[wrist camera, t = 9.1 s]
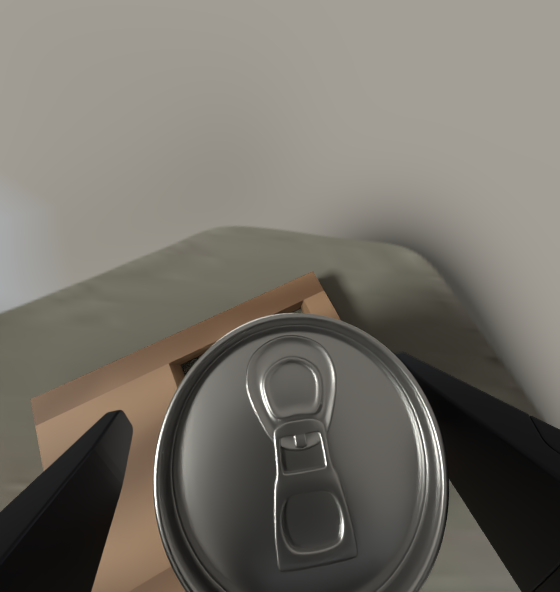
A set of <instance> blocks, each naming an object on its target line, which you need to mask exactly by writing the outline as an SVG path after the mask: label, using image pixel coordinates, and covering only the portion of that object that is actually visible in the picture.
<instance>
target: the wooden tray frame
mask: <svg viewBox="0 0 560 592" xmlns="http://www.w3.org/2000/svg"><path fill="white" fill-rule="evenodd" d="M299 308H301V310H302V312H303V313H306V314H315V315H322V316H326V317H331V318H334V319H337V320H340V321H341V319H340V318H339V316H338V314H337V312H336V311H335V309H334V307H333V305H332V304H331V302H330V300H329V298H328V297H327V295H326V293H325V291H324V290H323V288H322V286H321V284H320V283H319V281H318V279H317V277H316V276H315V274H314V272H310V273H308V274H306V275H304V276H301V277H299V278H297V279H295V280H293V281H290V282H288V283H286V284H284V285H282V286H279V287H277V288H275V289H273V290H271V291H268V292H266V293H264V294H262V295H260V296H257V297H255V298H253V299H251V300H249V301H246V302H244V303H242V304H240V305H238V306H235V307H233V308H231V309H229V310H227V311H224V312H222V313H220V314H218V315H216V316H213V317H211V318H209V319H207V320H204V321H202V322H200V323H198V324H196V325H193V326H191V327H189V328H187V329H185V330H182V331H180V332H178V333H176V334H174V335H171V336H169V337H167V338H165V339H163V340H160V341H158V342H156V343H154V344H152V345H149V346H147V347H145V348H143V349H141V350H138V351H136V352H134V353H132V354H130V355H127V356H125V357H123V358H121V359H119V360H116V361H114V362H112V363H110V364H108V365H105V366H103V367H101V368H99V369H96V370H94V371H92V372H90V373H88V374H85V375H83V376H81V377H79V378H77V379H74V380H72V381H70V382H68V383H66V384H63V385H61V386H59V387H57V388H55V389H52V390H50V391H48V392H46V393H44V394H41V395H39V396H37V397H35V398H33V399H30V400H31V405H32V410H33V416H34V421H35V427H36V432H37V438H38V443H39V448H40V454H41V459H42V465H43V470H44V471H45V470H46V469H47V468H48V467H49V466H50V465H51V464H52V463H53V462H54V461H55V460H57V459H58V458H59V457H60V456H61V455H62V454H63V453H64V452H65V451H66V450H67V449H68V448H69V447H70V446H71V445H73V444H74V443H75V442H76V441H77V440H78V439H79V438H80V437H81V436H82V435H83V434H84V433H85V432H86V431H87V430H89V429H90V428H91V427H92V426H93V425H94V424H95V423H96V422H97V421H98V420H99V419H100V418H101V417H102V416H103V415H105V414H106V413H107V412H111V411H115V410H122V411H124V413H125V414H126V416H127V418H128V419H129V421H130V422H131V424H132V427H133V436H132V441H131V446H130V451H129V456H128V461H127V466H126V472H125V477H124V481H123V486H122V489H121V493H120V496H119V500H118V503H117V507H116V510H115V513H114V517H113V520H112V523H111V527H110V530H109V534H108V537H107V540H106V544H105V547H104V551H103V554H102V557H101V561H100V564H99V567H98V571H97V574H96V578H95V581H94V584H93V588H92V591H91V592H186V591H185V590H184V588H183V587H182V585H181V584H180V582H179V580H178V578H177V577H176V575H175V573H174V571H173V569H172V567H171V565H170V562H169V560H168V558H167V555H166V552H165V550H164V547H163V544H162V541H161V537H160V534H159V529H158V525H157V520H156V514H155V507H154V497H153V469H154V458H155V451H156V445H157V440H158V436H159V432H160V428H161V425H162V422H163V419H164V416H165V413H166V411H167V408H168V406H169V404H170V401H171V399H172V397H173V395H174V393H175V392H176V390H177V388H178V386H179V385H180V383H181V381H182V380H183V378H184V377H185V375H184V373H183V370H182V367H181V365H182V364H184V363H186V362H188V361H190V360H192V359H194V358H196V357H198V356H200V355H203V354H204V353H205V352H206V351H207V350H208V349H209V348H210V347H211V346H212V345H213V344H215V343H216V342H217V341H218V340H219V339H221V338H222V337H223V336H225V335H226V334H227V333H229V332H230V331H232V330H234V329H235V328H237V327H239V326H241V325H243V324H245V323H247V322H250V321H252V320H255V319H258V318H261V317H265V316H269V315H275V314H283V313H291V312H293V311H295V310H297V309H299Z"/></svg>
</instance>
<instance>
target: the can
mask: <svg viewBox="0 0 560 592" xmlns="http://www.w3.org/2000/svg"><path fill="white" fill-rule="evenodd" d="M153 497H154V507H155V514H156V520H157V525H158V529H159V534H160V537H161V541H162V544H163V547H164V550H165V552H166V555H167V558H168V560H169V562H170V565H171V567H172V569H173V571H174V573H175V575H176V577H177V578H178V580H179V582H180V584H181V585H182V587H183V588H184V590H185V591H186V592H420V591H421V589H422V587H423V586H424V584H425V582H426V580H427V578H428V576H429V575H430V573H431V570H432V568H433V566H434V563H435V561H436V558H437V556H438V553H439V550H440V547H441V543H442V540H443V536H444V531H445V526H446V520H447V513H448V502H449V477H448V466H447V458H446V453H445V447H444V443H443V439H442V435H441V432H440V429H439V426H438V423H437V420H436V417H435V415H434V412H433V410H432V408H431V406H430V404H429V402H428V400H427V398H426V396H425V394H424V392H423V390H422V389H421V387H420V385H419V384H418V382H417V381H416V379H415V378H414V377H413V375H412V374H411V373H410V371H409V370H408V369H407V367H406V366H405V365H404V364H403V363H402V362H401V361H400V359H399V358H398V357H397V356H396V355H395V354H394V353H393V352H391V351H390V350H389V349H388V348H387V347H386V346H385V345H383V344H382V343H381V342H380V341H378V340H377V339H375V338H374V337H372V336H371V335H369V334H368V333H366V332H364V331H363V330H361V329H359V328H357V327H355V326H353V325H351V324H348V323H346V322H343V321H340V320H337V319H334V318H331V317H326V316H322V315H315V314H306V313H283V314H275V315H269V316H265V317H261V318H258V319H255V320H252V321H250V322H247V323H245V324H243V325H241V326H239V327H237V328H235V329H234V330H232V331H230V332H229V333H227V334H226V335H225V336H223V337H222V338H221V339H219V340H218V341H217V342H216V343H215V344H213V345H212V346H211V347H210V348H209V349H208V350H207V351H206V352H205V353H204V354H203V355H202V356H201V357H200V358H199V359H198V360H197V361H196V362H195V364H194V365H193V366H192V367H191V369H190V370H189V371H188V373H187V374H186V375H185V377H184V378H183V380H182V381H181V383H180V385H179V386H178V388H177V390H176V392H175V393H174V395H173V397H172V399H171V401H170V404H169V406H168V408H167V411H166V413H165V416H164V419H163V422H162V425H161V428H160V432H159V436H158V440H157V445H156V451H155V458H154V469H153Z"/></svg>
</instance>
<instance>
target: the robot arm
mask: <svg viewBox="0 0 560 592" xmlns="http://www.w3.org/2000/svg"><path fill="white" fill-rule="evenodd" d="M394 354H395V355H396V356H397V357H398V358H399V359H400V361H401V362H402V363H403V364H404V365H405V366H406V367H407V369H408V370H409V371H410V373H411V374H412V375H413V377H414V378H415V379H416V381H417V382H418V384H419V385H420V387H421V389H422V390H423V392H424V394H425V396H426V398H427V400H428V402H429V404H430V406H431V408H432V410H433V412H434V415H435V417H436V420H437V423H438V426H439V429H440V432H441V435H442V439H443V443H444V447H445V453H446V458H447V466H448V477H449V479H450V481H451V482H452V484H453V486H454V487H455V489H456V490H457V492H458V493H459V495H460V497H461V498H462V500H463V501H464V503H465V504H466V506H467V507H468V509H469V511H470V512H471V514H472V515H473V517H474V518H475V520H476V521H477V523H478V525H479V526H480V528H481V529H482V531H483V532H484V534H485V536H486V537H487V539H488V540H489V542H490V543H491V545H492V546H493V548H494V550H495V551H496V553H497V554H498V556H499V557H500V559H501V561H502V562H503V564H504V565H505V567H506V568H507V570H508V571H509V573H510V575H511V576H512V578H513V579H514V581H515V582H516V584H517V585H518V587H519V589H520V590H521V592H560V429H557V428H555V427H553V426H551V425H549V424H547V423H545V422H543V421H541V420H539V419H537V418H535V417H533V416H529V415H528V414H527V413H525V412H523V411H521V410H519V409H517V408H515V407H513V406H511V405H509V404H507V403H505V402H503V401H501V400H499V399H497V398H495V397H493V396H491V395H489V394H487V393H485V392H483V391H481V390H479V389H477V388H475V387H473V386H471V385H469V384H467V383H465V382H463V381H461V380H459V379H457V378H455V377H453V376H451V375H449V374H447V373H445V372H443V371H441V370H439V369H437V368H435V367H433V366H431V365H429V364H427V363H425V362H423V361H421V360H419V359H417V358H415V357H413V356H411V355H409V354H407V353H404V352H398V353H394ZM132 436H133V427H132V424H131V422H130V421H129V419H128V418H127V416H126V414H125V413H124V411H122V410H115V411H111V412H107V413H106V414H105V415H103V416H102V417H101V418H100V419H99V420H98V421H97V422H96V423H95V424H94V425H93V426H92V427H91V428H90V429H89V430H87V431H86V432H85V433H84V434H83V435H82V436H81V437H80V438H79V439H78V440H77V441H76V442H75V443H74V444H73V445H71V446H70V447H69V448H68V449H67V450H66V451H65V452H64V453H63V454H62V455H61V456H60V457H59V458H58V459H57V460H55V461H54V462H53V463H52V464H51V465H50V466H49V467H48V468H47V469H46V470H45V471H44V472H43V473H42V474H41V475H39V476H38V477H37V478H36V479H35V480H34V481H33V482H32V483H31V484H30V485H29V486H28V487H27V488H26V489H25V490H23V491H22V492H21V493H20V494H19V495H18V496H17V497H16V498H15V499H14V500H13V501H12V502H11V503H10V504H9V505H7V506H6V507H5V508H4V509H3V510H2V511H1V512H0V592H91V591H92V588H93V584H94V581H95V578H96V574H97V571H98V567H99V564H100V561H101V557H102V554H103V551H104V547H105V544H106V540H107V537H108V534H109V530H110V527H111V523H112V520H113V517H114V513H115V510H116V507H117V503H118V500H119V496H120V493H121V489H122V486H123V481H124V477H125V472H126V466H127V461H128V456H129V451H130V446H131V441H132Z"/></svg>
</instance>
